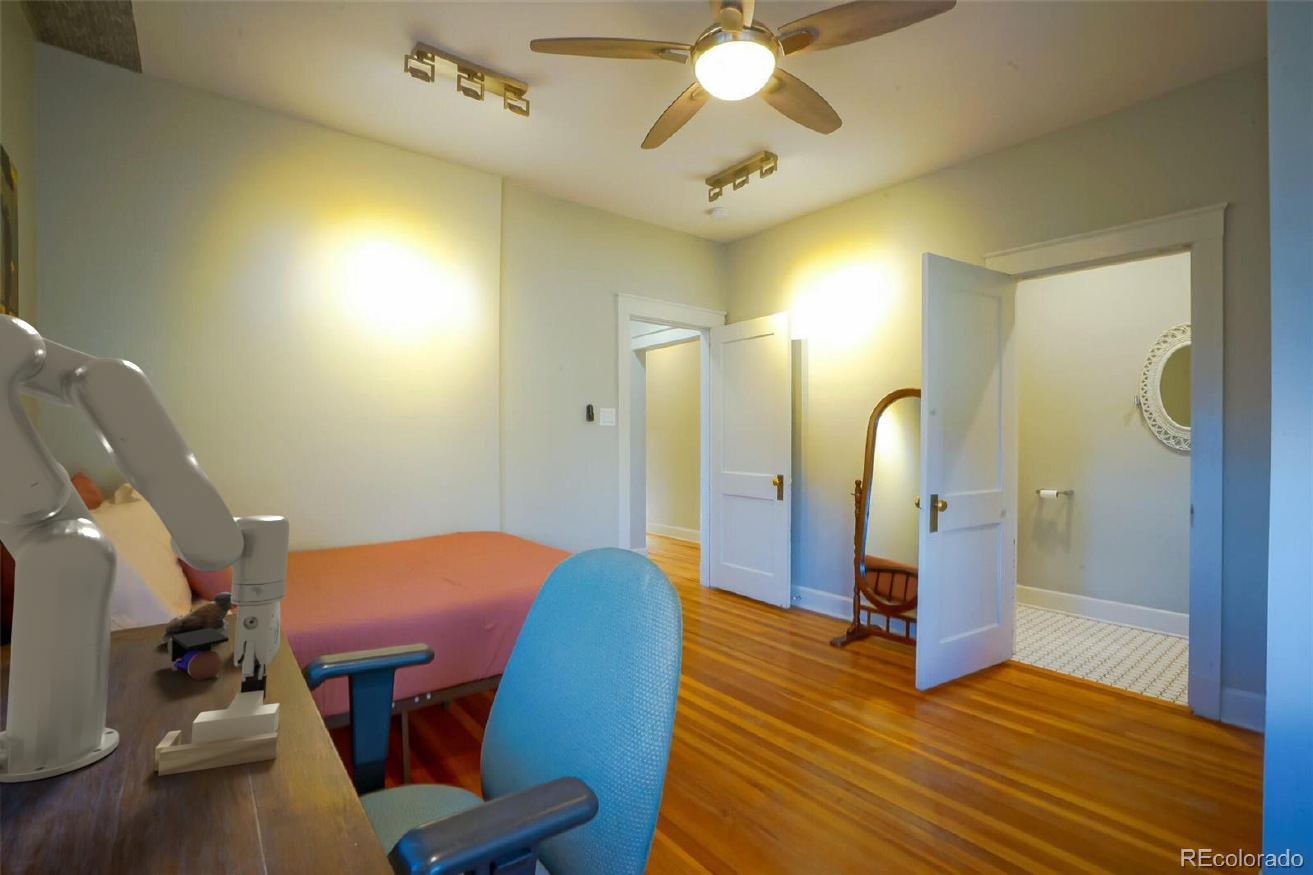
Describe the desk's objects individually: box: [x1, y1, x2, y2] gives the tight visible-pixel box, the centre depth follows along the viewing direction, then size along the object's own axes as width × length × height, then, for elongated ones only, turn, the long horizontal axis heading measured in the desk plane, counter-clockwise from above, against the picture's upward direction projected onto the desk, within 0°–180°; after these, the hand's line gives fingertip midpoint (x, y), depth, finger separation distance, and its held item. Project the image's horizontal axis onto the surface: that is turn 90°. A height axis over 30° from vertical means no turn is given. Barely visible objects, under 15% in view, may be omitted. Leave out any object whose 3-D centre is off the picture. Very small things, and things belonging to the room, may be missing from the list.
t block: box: [191, 690, 281, 744], centre depth 90 cm, size 10×10×4 cm
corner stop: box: [153, 729, 280, 777], centre depth 81 cm, size 6×14×3 cm, turn 113°
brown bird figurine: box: [161, 591, 233, 643], centre depth 127 cm, size 12×7×10 cm, turn 119°
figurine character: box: [167, 628, 229, 681], centre depth 110 cm, size 7×8×15 cm
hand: (252, 702), depth 96 cm, fingers closed
